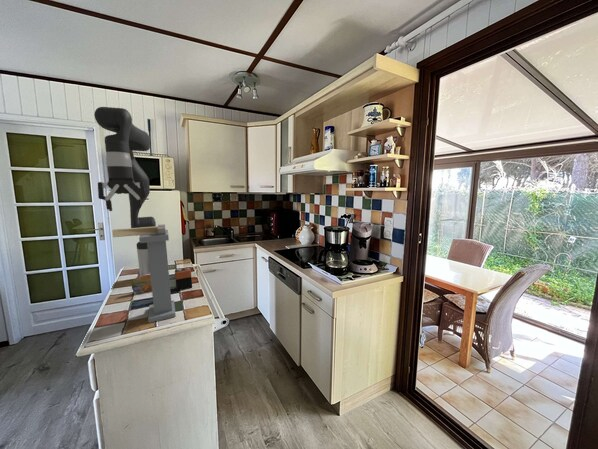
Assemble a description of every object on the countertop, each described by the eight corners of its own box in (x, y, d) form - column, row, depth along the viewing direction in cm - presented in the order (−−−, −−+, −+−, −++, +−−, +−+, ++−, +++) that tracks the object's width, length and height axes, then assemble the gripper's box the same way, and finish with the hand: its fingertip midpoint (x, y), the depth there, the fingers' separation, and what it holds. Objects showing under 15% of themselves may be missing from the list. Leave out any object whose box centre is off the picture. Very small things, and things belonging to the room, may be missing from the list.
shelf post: (149, 308, 103) (141, 231, 97) (174, 303, 107) (167, 229, 102) (148, 323, 92) (139, 237, 87) (175, 316, 96) (168, 235, 91)
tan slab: (115, 234, 93) (115, 227, 92) (165, 230, 100) (164, 224, 100) (111, 239, 84) (110, 232, 84) (165, 234, 92) (165, 228, 91)
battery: (175, 287, 123) (174, 268, 121) (190, 284, 127) (189, 265, 125) (177, 291, 119) (175, 270, 118) (192, 287, 123) (191, 268, 121)
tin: (132, 295, 115) (130, 278, 113) (132, 293, 117) (130, 276, 116) (169, 288, 123) (167, 271, 121) (168, 286, 125) (167, 269, 124)
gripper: (142, 167, 98) (147, 208, 101) (96, 166, 91) (102, 210, 94) (142, 165, 92) (146, 209, 94) (92, 164, 85) (99, 212, 87)
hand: (124, 210), depth 94 cm, fingers open, 8 cm apart
